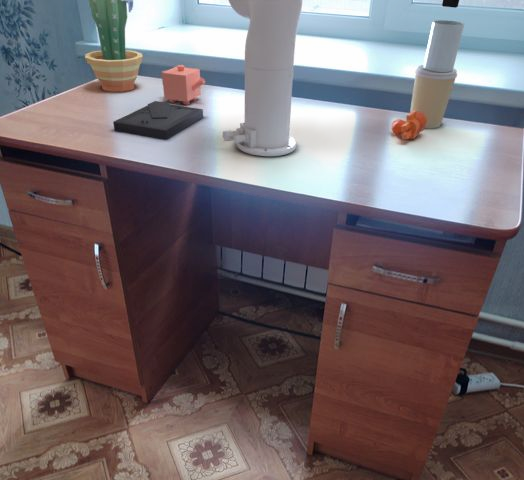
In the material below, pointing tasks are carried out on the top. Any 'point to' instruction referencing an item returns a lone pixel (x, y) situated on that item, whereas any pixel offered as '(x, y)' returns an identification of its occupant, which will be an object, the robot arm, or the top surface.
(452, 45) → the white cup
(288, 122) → the robot arm
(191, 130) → the top surface
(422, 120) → the orange lumpy piece
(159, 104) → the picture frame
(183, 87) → the pink cube teapot
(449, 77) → the coffee cup
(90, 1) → the potted cactus
